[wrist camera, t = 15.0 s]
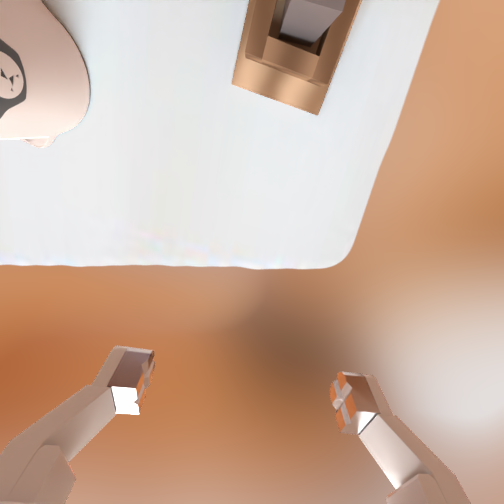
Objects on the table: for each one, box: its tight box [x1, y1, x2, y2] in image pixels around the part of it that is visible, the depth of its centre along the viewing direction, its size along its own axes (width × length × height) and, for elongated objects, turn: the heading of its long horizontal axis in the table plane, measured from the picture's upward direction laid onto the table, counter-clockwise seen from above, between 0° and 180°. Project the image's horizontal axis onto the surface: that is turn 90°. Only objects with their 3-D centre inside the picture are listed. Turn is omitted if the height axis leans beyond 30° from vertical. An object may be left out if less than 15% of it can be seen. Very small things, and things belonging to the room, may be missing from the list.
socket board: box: [232, 0, 362, 115], centre depth 26 cm, size 12×16×4 cm
